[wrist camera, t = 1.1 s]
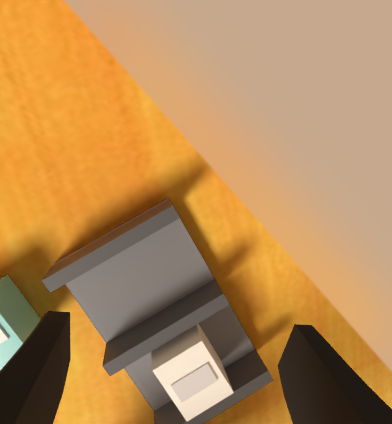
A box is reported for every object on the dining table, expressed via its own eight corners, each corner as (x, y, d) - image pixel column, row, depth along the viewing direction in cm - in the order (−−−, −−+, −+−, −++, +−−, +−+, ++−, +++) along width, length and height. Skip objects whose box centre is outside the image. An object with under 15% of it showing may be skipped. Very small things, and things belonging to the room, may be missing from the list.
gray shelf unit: (159, 411, 30) (162, 449, 26) (55, 262, 27) (41, 280, 23) (256, 351, 31) (273, 380, 27) (168, 197, 27) (172, 205, 23)
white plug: (180, 385, 29) (187, 423, 25) (150, 340, 28) (152, 372, 24) (221, 360, 29) (234, 394, 25) (193, 314, 28) (202, 341, 24)
